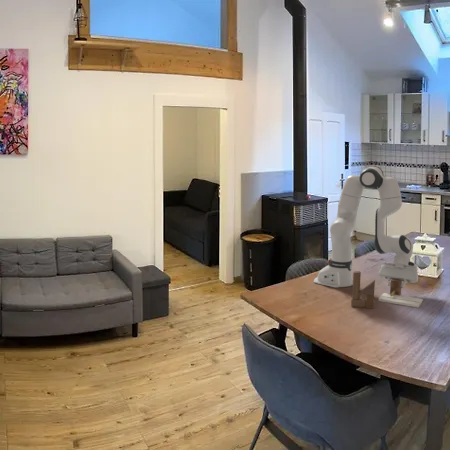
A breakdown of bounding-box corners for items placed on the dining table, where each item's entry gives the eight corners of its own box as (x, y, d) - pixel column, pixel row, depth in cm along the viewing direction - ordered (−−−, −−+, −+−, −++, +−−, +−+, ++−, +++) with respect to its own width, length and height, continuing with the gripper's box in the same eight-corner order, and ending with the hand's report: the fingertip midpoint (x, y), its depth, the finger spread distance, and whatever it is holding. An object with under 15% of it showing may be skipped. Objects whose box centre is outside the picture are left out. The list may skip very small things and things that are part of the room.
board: (378, 301, 269) (378, 298, 269) (383, 295, 278) (383, 292, 278) (418, 307, 259) (418, 305, 259) (422, 301, 268) (422, 298, 268)
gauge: (386, 298, 271) (387, 284, 269) (391, 292, 280) (392, 278, 279) (396, 300, 268) (396, 285, 267) (400, 294, 278) (401, 280, 276)
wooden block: (372, 309, 257) (374, 274, 254) (351, 306, 262) (352, 272, 258) (373, 306, 261) (375, 272, 257) (352, 304, 265) (353, 270, 262)
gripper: (380, 259, 286) (375, 280, 279) (419, 264, 275) (414, 286, 269) (382, 265, 290) (377, 286, 284) (420, 270, 280) (415, 292, 274)
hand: (395, 286), depth 276 cm, fingers closed on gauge, 5 cm apart
